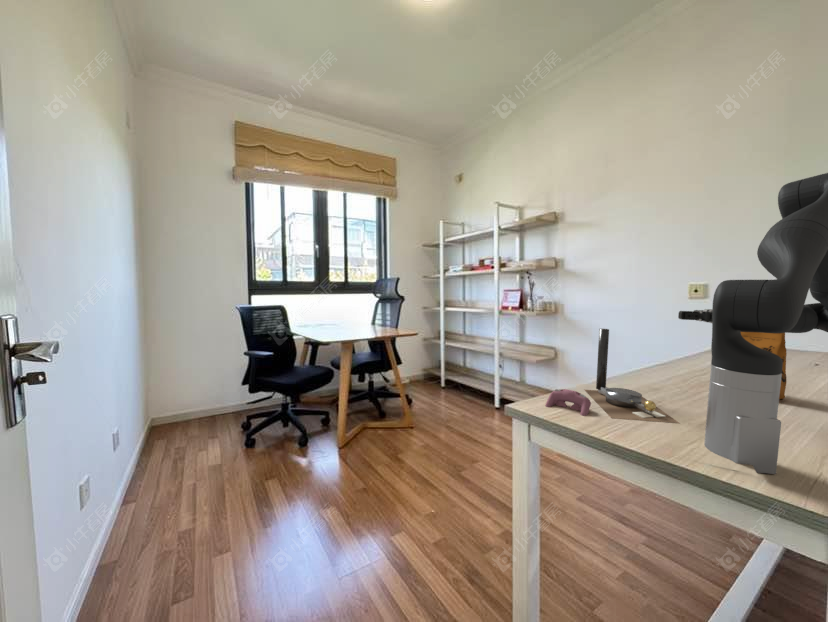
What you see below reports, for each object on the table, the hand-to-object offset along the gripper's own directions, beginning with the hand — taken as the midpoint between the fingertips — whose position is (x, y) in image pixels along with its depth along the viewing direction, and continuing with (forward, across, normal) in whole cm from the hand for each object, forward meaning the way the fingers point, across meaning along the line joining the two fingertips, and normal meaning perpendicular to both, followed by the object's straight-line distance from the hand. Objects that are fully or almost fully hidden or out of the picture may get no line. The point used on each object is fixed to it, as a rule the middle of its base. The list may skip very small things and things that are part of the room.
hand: (680, 315), depth 91 cm
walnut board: (+14, +8, +24) cm, 29 cm away
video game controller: (+29, +14, +25) cm, 41 cm away
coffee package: (-28, -16, +24) cm, 40 cm away
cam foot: (+15, +7, +23) cm, 28 cm away
